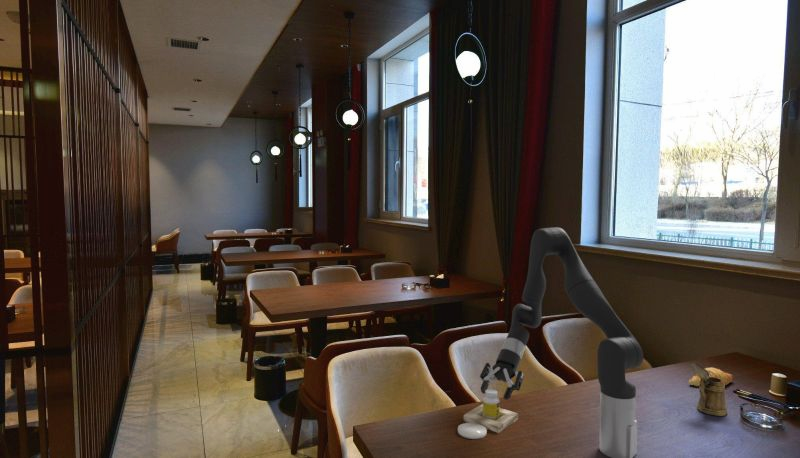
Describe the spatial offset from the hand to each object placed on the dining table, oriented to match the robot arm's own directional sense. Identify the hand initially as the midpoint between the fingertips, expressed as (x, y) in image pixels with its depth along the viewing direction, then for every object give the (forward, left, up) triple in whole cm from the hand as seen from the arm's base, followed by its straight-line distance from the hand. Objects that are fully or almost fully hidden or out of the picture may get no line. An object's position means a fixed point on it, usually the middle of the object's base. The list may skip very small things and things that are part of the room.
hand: (493, 395), depth 161 cm
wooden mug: (-53, -54, -8) cm, 76 cm away
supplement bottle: (0, +2, -8) cm, 8 cm away
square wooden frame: (0, +2, -8) cm, 8 cm away
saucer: (0, +13, -8) cm, 15 cm away
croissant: (-49, -86, -8) cm, 100 cm away
